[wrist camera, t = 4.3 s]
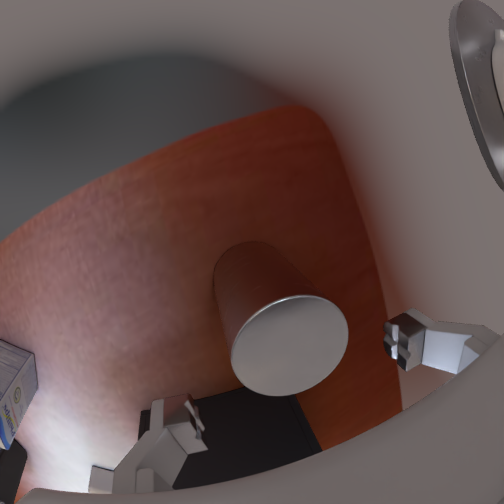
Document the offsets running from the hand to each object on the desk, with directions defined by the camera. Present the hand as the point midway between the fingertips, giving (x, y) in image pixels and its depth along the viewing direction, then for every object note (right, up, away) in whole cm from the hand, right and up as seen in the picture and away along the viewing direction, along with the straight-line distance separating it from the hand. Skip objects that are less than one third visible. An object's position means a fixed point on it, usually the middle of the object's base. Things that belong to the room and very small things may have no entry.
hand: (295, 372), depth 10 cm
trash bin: (-4, -14, +14) cm, 20 cm away
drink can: (-2, +3, +10) cm, 10 cm away
